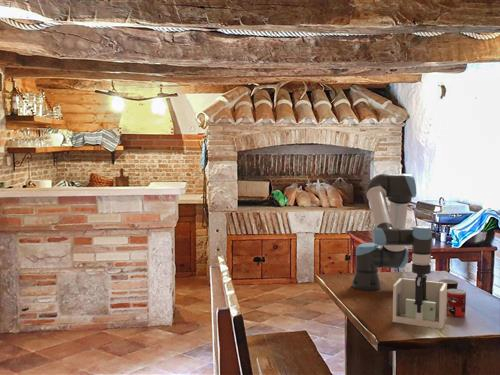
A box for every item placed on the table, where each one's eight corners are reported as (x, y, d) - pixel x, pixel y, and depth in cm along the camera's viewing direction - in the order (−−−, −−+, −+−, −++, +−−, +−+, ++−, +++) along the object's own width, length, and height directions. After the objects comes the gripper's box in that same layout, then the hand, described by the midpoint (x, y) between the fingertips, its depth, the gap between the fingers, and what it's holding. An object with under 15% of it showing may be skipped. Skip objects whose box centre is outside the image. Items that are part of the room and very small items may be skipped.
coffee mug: (459, 304, 249) (459, 283, 248) (439, 303, 251) (440, 283, 250) (454, 297, 260) (455, 278, 260) (436, 297, 262) (436, 277, 261)
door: (404, 323, 223) (405, 300, 222) (406, 321, 225) (406, 298, 224) (434, 327, 217) (435, 304, 216) (435, 325, 220) (436, 302, 219)
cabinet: (392, 321, 224) (393, 285, 223) (399, 312, 237) (400, 278, 236) (441, 329, 215) (442, 290, 214) (446, 319, 228) (447, 283, 226)
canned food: (443, 312, 237) (443, 288, 236) (460, 312, 237) (460, 288, 237) (450, 318, 229) (451, 293, 228) (468, 317, 230) (469, 293, 229)
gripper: (427, 268, 210) (426, 325, 211) (434, 260, 226) (432, 313, 227) (408, 266, 213) (406, 322, 214) (416, 258, 229) (415, 311, 231)
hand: (420, 317), depth 221 cm, fingers open, 5 cm apart
